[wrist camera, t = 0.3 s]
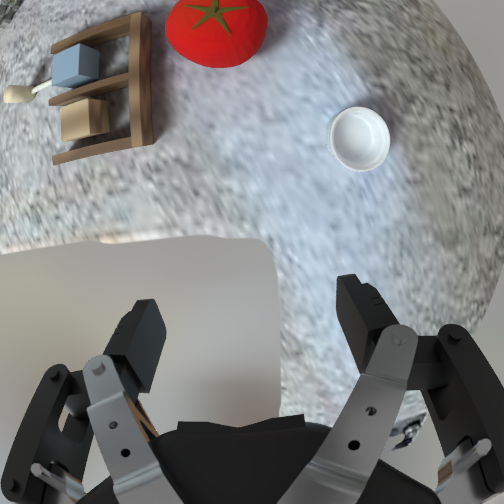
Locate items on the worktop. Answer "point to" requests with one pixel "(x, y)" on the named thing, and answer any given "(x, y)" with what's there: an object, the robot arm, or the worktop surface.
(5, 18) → the egg carton
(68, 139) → the plain oak block
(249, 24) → the tomato
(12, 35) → the worktop surface
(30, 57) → the worktop surface
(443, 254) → the worktop surface
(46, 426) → the robot arm
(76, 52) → the tethered block
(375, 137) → the ramekin
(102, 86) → the lane rack
